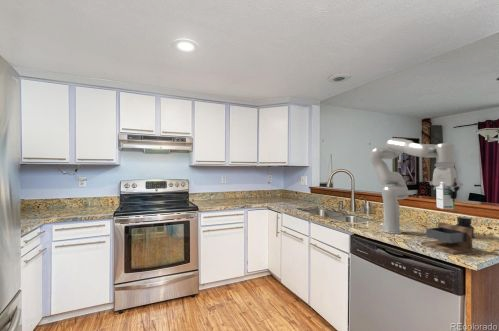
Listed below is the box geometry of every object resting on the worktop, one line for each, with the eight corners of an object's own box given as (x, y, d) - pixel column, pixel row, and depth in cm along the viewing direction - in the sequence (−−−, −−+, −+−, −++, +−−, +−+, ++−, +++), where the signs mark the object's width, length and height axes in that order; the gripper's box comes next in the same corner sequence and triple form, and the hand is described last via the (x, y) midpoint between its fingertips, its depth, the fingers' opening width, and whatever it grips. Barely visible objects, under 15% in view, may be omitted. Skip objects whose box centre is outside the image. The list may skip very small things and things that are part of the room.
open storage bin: (426, 236, 133) (426, 228, 133) (441, 234, 136) (441, 227, 136) (450, 243, 121) (450, 234, 121) (466, 241, 125) (466, 232, 125)
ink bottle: (470, 235, 154) (470, 217, 154) (477, 239, 146) (477, 219, 146) (452, 233, 158) (451, 215, 158) (457, 237, 150) (457, 218, 150)
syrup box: (442, 209, 126) (442, 182, 127) (436, 207, 132) (435, 181, 132) (454, 209, 126) (454, 182, 126) (447, 207, 131) (447, 181, 132)
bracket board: (421, 244, 134) (421, 223, 134) (440, 242, 138) (439, 222, 139) (452, 254, 119) (452, 230, 119) (472, 251, 123) (472, 228, 123)
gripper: (424, 165, 137) (424, 196, 136) (458, 165, 120) (458, 200, 120) (433, 166, 139) (433, 195, 138) (468, 165, 122) (468, 199, 122)
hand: (445, 197), depth 129 cm, fingers closed on syrup box, 7 cm apart
